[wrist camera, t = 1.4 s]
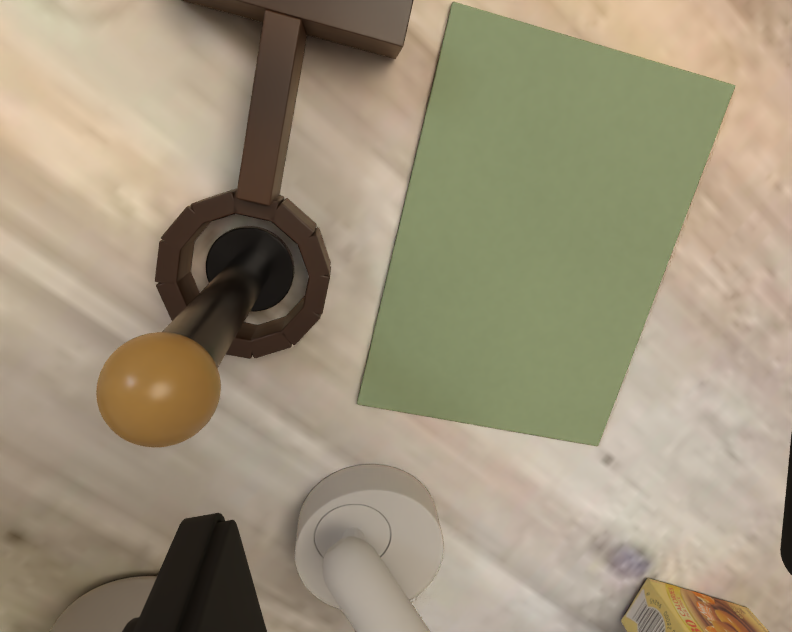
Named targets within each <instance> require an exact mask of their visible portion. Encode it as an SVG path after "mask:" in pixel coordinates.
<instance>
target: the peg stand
mask: <svg viewBox="0 0 792 632" xmlns="http://www.w3.org/2000/svg"><path fill="white" fill-rule="evenodd" d="M206 274H207V278H208V281H209V284H208V285H207V286H206V287H205V288H204V289H203V290H202V291H201V292H200V293H199V294H198V295H197V296H196V297H195V298H194V299H193V300H192V301H191V302H190V303H189V305H188V306H187V307H186V308H185V309H184V310H183V311H182V312H181V313H180V314H179V315H178V316H177V317H176V318H175V319H174V320H173V321H172V322H171V323H170V324H169V325H168V326H167V327H166V328H165V329H164V330H163V331H162V332H156V333H149V334H145V335H141V336H138V337H136V338H133V339H131V340H129V341H128V342H126V343H124V344H123V345H122V346H120V347H119V348H118V349H117V350H116V351H115V352H114V353H113V354H112V355H111V356H110V357H109V358H108V360H107V361H106V362H105V364H104V366H103V368H102V370H101V372H100V375H99V378H98V383H97V391H96V396H97V403H98V407H99V411H100V413H101V415H102V417H103V419H104V421H105V422H106V424H107V425H108V426H109V427H110V428H111V430H112V431H114V432H115V433H116V434H117V435H118V436H120V437H121V438H123V439H124V440H126V441H128V442H131V443H133V444H136V445H140V446H145V447H166V446H171V445H175V444H178V443H181V442H183V441H185V440H187V439H189V438H191V437H192V436H194V435H195V434H197V433H198V432H199V431H200V430H201V429H202V428H203V427H204V426H205V425H206V424H207V423H208V422H209V420H210V419H211V417H212V416H213V414H214V412H215V410H216V408H217V405H218V402H219V398H220V391H221V382H220V375H219V372H218V369H217V368H218V367H219V365H220V363H221V361H222V360H223V358H224V356H225V354H226V353H227V351H228V349H229V347H230V346H231V344H232V342H233V340H234V339H235V337H236V335H237V333H238V331H239V330H240V328H241V326H242V324H243V323H244V321H245V319H246V317H247V316H248V314H249V312H250V311H261V310H265V309H268V308H271V307H272V306H274V305H276V304H277V303H279V302H280V301H281V300H282V299H283V298H284V297H285V296H286V294H287V293H288V291H289V289H290V287H291V285H292V282H293V278H294V261H293V258H292V255H291V253H290V250H289V249H288V247H287V246H286V244H285V243H284V242H283V241H282V240H281V239H280V238H279V237H278V236H277V235H275V234H274V233H272V232H270V231H268V230H266V229H264V228H260V227H255V226H242V227H237V228H234V229H232V230H229V231H228V232H226V233H224V234H223V235H222V236H220V237H219V238H218V239H217V240H216V241H215V242H214V244H213V245H212V247H211V249H210V250H209V253H208V256H207V260H206Z"/></svg>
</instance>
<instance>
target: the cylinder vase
mask: <svg viewBox="0 0 792 632" xmlns="http://www.w3.org/2000/svg"><path fill="white" fill-rule="evenodd" d="M156 578H157V576H140V577H131V578H125V579H120V580H116V581H113V582H110V583H107V584H104V585H101V586H99V587H97V588H95V589H93V590H91V591H89V592H87V593H86V594H84V595H82V596H81V597H80V598H78V599H77V600H75V601H74V602H73V603H72V604H71V605H70V606H69V607H67V608H66V609H65V611H64V612H63V613H62V614H61V615H60V616H59V618H58V619H57V620H56V622H55V623H54V625H53V627H52V628H51V630H50V632H122V631H123V629H124V627H125V626H126V624H127V623H128V622H129V621H130V620H132V619H133V618H137V617H140V614H141V612H142V610H143V608H144V605H145V603H146V601H147V598H148V596H149V594H150V592H151V589H152V587H153V585H154V582H155V580H156Z"/></svg>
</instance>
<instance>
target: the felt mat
mask: <svg viewBox="0 0 792 632" xmlns="http://www.w3.org/2000/svg"><path fill="white" fill-rule="evenodd" d="M734 88H735V85H732V84H729V83H726V82H722V81H719V80H715V79H712V78H709V77H705V76H702V75H699V74H695V73H692V72H689V71H685V70H682V69H678V68H675V67H672V66H668V65H665V64H662V63H658V62H655V61H652V60H648V59H645V58H641V57H638V56H635V55H631V54H628V53H625V52H621V51H618V50H615V49H611V48H608V47H604V46H601V45H598V44H594V43H591V42H588V41H584V40H581V39H578V38H574V37H571V36H567V35H564V34H561V33H557V32H554V31H551V30H547V29H544V28H540V27H537V26H534V25H530V24H527V23H524V22H520V21H517V20H514V19H510V18H507V17H503V16H500V15H497V14H493V13H490V12H487V11H483V10H480V9H477V8H473V7H470V6H466V5H463V4H460V3H456V2H453V3H452V5H451V9H450V13H449V17H448V22H447V26H446V30H445V34H444V38H443V43H442V47H441V51H440V55H439V60H438V64H437V68H436V72H435V76H434V81H433V85H432V89H431V93H430V97H429V102H428V106H427V110H426V114H425V118H424V123H423V127H422V131H421V135H420V139H419V144H418V148H417V152H416V156H415V160H414V165H413V169H412V173H411V177H410V182H409V186H408V190H407V194H406V198H405V203H404V207H403V211H402V215H401V219H400V224H399V228H398V232H397V236H396V240H395V245H394V249H393V253H392V257H391V261H390V266H389V270H388V274H387V278H386V282H385V287H384V291H383V295H382V299H381V304H380V308H379V312H378V316H377V320H376V325H375V329H374V333H373V337H372V341H371V346H370V350H369V354H368V358H367V362H366V367H365V371H364V375H363V379H362V383H361V388H360V392H359V396H358V400H357V404H358V405H364V406H369V407H375V408H381V409H387V410H392V411H398V412H404V413H410V414H415V415H421V416H427V417H433V418H438V419H444V420H450V421H456V422H461V423H467V424H473V425H478V426H484V427H490V428H496V429H501V430H507V431H513V432H519V433H524V434H530V435H536V436H542V437H547V438H553V439H559V440H565V441H570V442H576V443H582V444H587V445H593V446H598V445H599V442H600V439H601V437H602V434H603V432H604V429H605V426H606V424H607V421H608V418H609V416H610V413H611V411H612V408H613V405H614V403H615V400H616V397H617V395H618V392H619V390H620V387H621V384H622V382H623V379H624V377H625V374H626V371H627V369H628V366H629V363H630V361H631V358H632V356H633V353H634V350H635V348H636V345H637V342H638V340H639V337H640V335H641V332H642V329H643V327H644V324H645V322H646V319H647V316H648V314H649V311H650V308H651V306H652V303H653V301H654V298H655V295H656V293H657V290H658V287H659V285H660V282H661V280H662V277H663V274H664V272H665V269H666V266H667V264H668V261H669V259H670V256H671V253H672V251H673V248H674V246H675V243H676V240H677V238H678V235H679V232H680V230H681V227H682V225H683V222H684V219H685V217H686V214H687V211H688V209H689V206H690V204H691V201H692V198H693V196H694V193H695V191H696V188H697V185H698V183H699V180H700V177H701V175H702V172H703V170H704V167H705V164H706V162H707V159H708V156H709V154H710V151H711V149H712V146H713V143H714V141H715V138H716V136H717V133H718V130H719V128H720V125H721V122H722V120H723V117H724V115H725V112H726V109H727V107H728V104H729V101H730V99H731V96H732V94H733V91H734Z"/></svg>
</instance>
